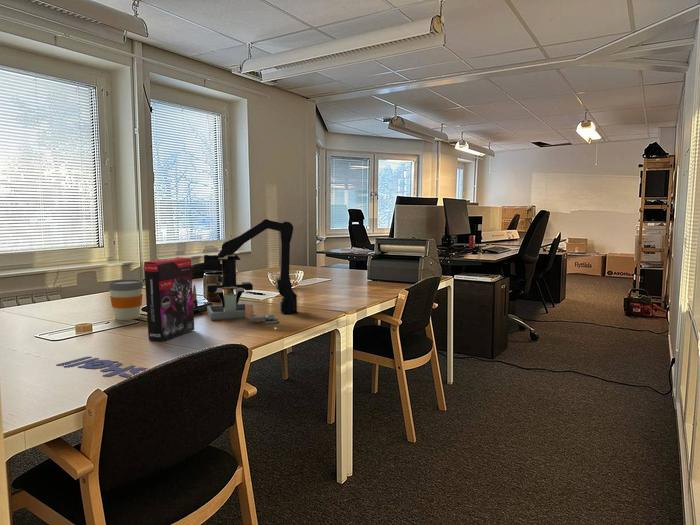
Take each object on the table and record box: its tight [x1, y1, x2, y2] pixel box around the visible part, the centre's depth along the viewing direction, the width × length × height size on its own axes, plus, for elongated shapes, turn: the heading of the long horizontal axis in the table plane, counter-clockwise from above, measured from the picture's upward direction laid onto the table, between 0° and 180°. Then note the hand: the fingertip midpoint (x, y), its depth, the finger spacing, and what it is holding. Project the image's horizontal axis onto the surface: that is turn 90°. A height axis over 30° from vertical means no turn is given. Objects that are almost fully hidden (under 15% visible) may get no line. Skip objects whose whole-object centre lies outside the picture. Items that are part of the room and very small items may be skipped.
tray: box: [206, 302, 248, 322], centre depth 203 cm, size 17×16×3 cm
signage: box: [55, 356, 149, 379], centre depth 135 cm, size 28×1×10 cm
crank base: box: [260, 317, 279, 331], centre depth 187 cm, size 7×16×1 cm, turn 22°
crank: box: [244, 303, 275, 322], centre depth 190 cm, size 12×4×6 cm, turn 112°
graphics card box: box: [143, 256, 195, 342], centre depth 169 cm, size 17×7×27 cm, turn 159°
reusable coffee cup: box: [108, 278, 144, 321], centre depth 196 cm, size 13×13×15 cm
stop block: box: [223, 293, 236, 312], centre depth 203 cm, size 4×4×7 cm
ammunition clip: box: [192, 283, 199, 308], centre depth 206 cm, size 11×2×12 cm, turn 143°
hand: (229, 307), depth 203 cm, fingers closed on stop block, 5 cm apart
